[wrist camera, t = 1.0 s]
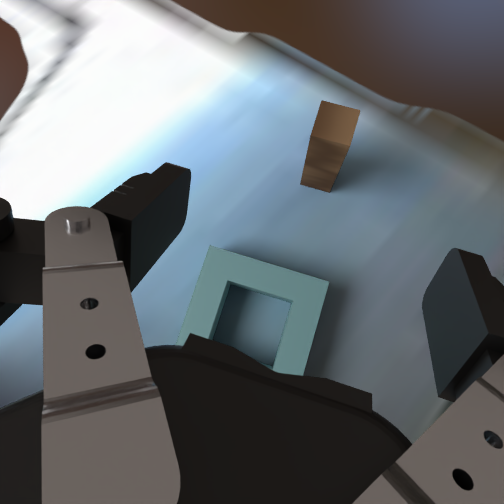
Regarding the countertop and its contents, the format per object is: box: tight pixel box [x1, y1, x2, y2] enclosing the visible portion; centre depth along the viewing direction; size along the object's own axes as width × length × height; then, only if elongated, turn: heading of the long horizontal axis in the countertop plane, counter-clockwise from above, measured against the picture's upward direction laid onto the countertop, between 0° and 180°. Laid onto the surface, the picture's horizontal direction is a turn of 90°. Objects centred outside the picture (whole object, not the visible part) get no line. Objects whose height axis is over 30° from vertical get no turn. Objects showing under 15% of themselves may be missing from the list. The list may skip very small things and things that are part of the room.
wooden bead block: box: [176, 246, 329, 376], centre depth 35 cm, size 11×11×3 cm
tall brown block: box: [300, 101, 360, 193], centre depth 34 cm, size 3×3×10 cm
